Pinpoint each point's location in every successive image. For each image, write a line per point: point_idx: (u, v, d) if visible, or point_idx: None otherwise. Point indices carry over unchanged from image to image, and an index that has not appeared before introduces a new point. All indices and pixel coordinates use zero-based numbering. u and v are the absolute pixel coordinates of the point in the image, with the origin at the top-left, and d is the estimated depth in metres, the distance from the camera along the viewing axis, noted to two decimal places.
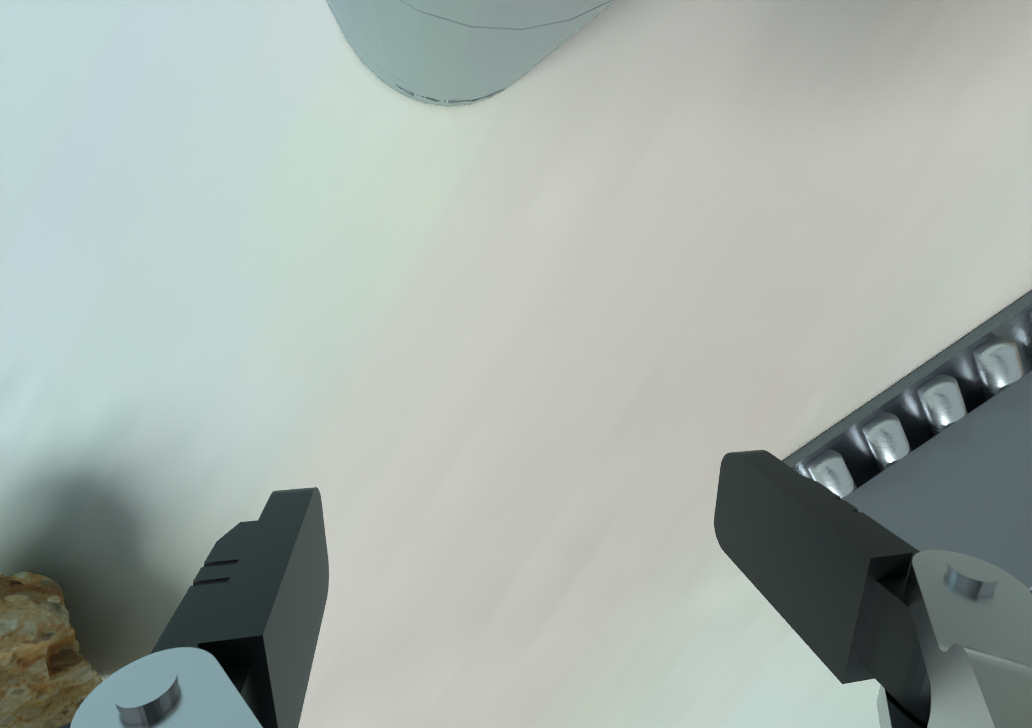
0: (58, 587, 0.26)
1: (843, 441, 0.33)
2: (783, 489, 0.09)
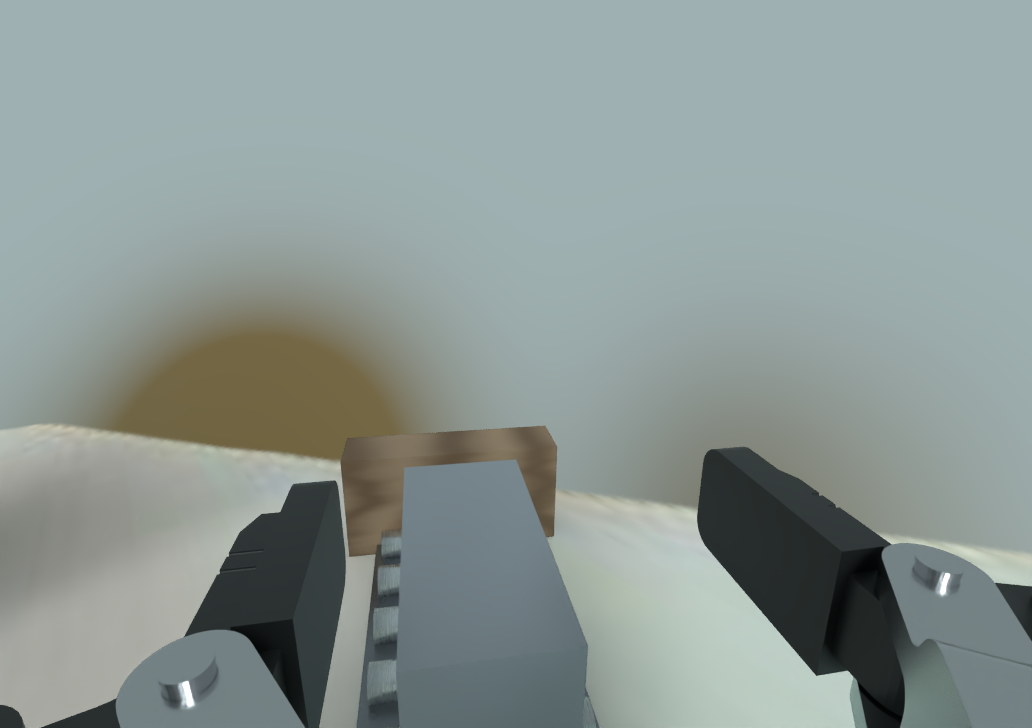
0: None
1: None
2: (761, 485, 0.09)
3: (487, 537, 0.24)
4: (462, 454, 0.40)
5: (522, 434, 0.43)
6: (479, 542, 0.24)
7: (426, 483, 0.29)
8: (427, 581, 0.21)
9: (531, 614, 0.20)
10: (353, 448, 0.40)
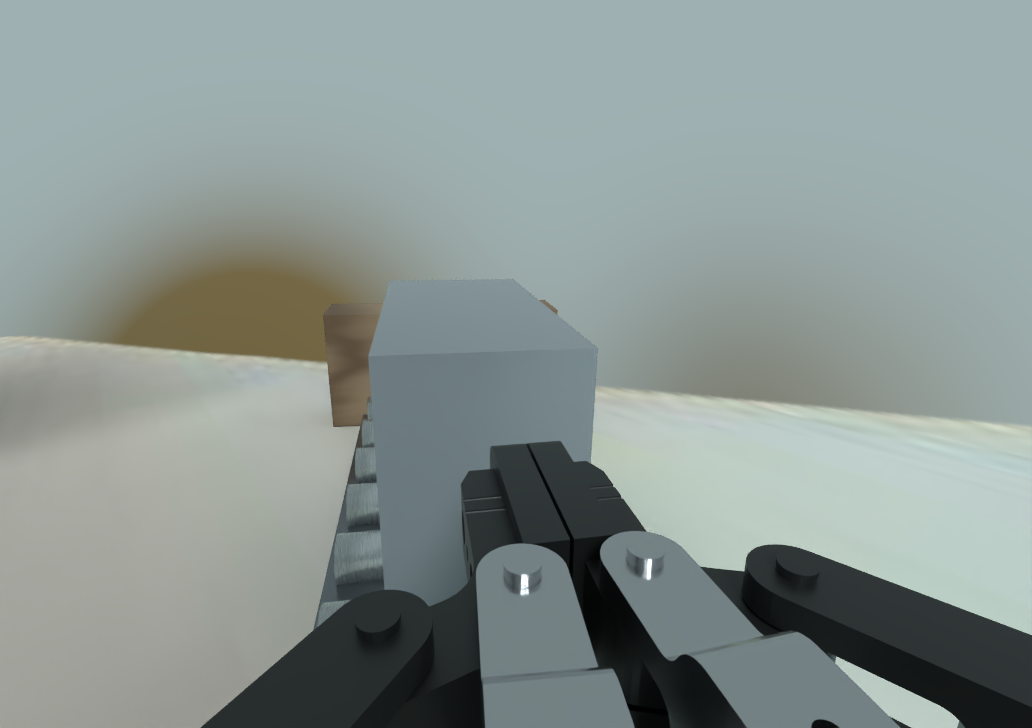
0: None
1: None
2: (546, 477, 0.10)
3: (479, 306, 0.21)
4: None
5: None
6: (470, 307, 0.21)
7: (412, 286, 0.26)
8: (410, 321, 0.19)
9: (531, 335, 0.17)
10: (338, 308, 0.37)
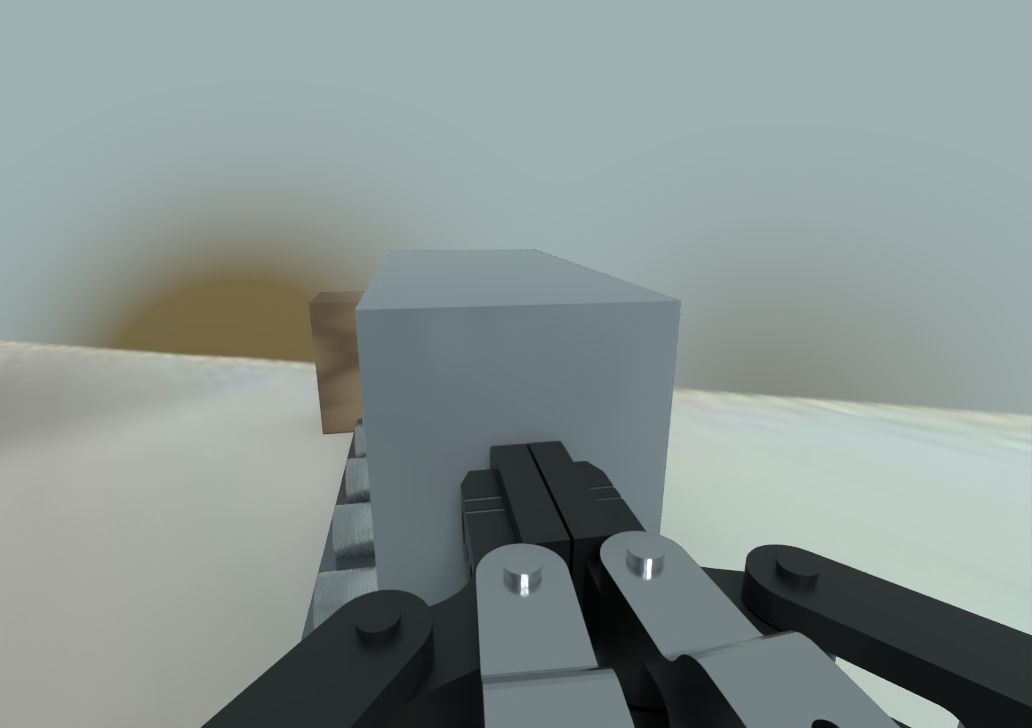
0: None
1: None
2: (546, 476, 0.10)
3: (502, 267, 0.17)
4: None
5: None
6: (491, 268, 0.16)
7: (417, 254, 0.21)
8: (415, 279, 0.14)
9: (580, 290, 0.12)
10: (327, 297, 0.32)
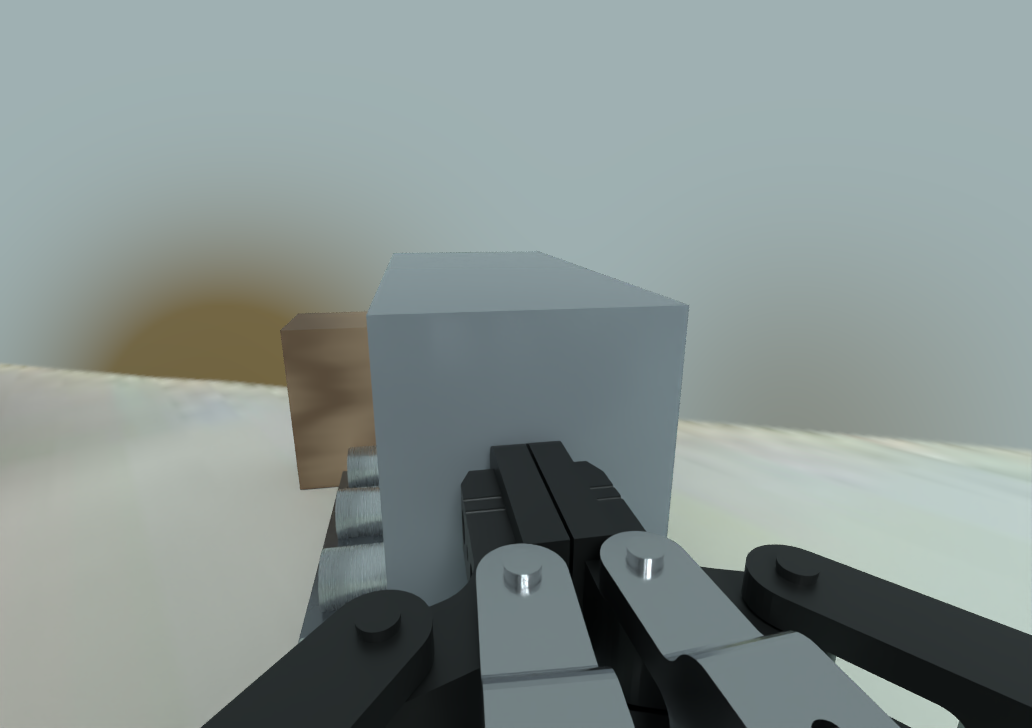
0: None
1: None
2: (546, 477, 0.10)
3: (508, 270, 0.17)
4: None
5: None
6: (497, 272, 0.17)
7: (421, 256, 0.21)
8: (423, 283, 0.14)
9: (588, 293, 0.12)
10: (304, 320, 0.26)
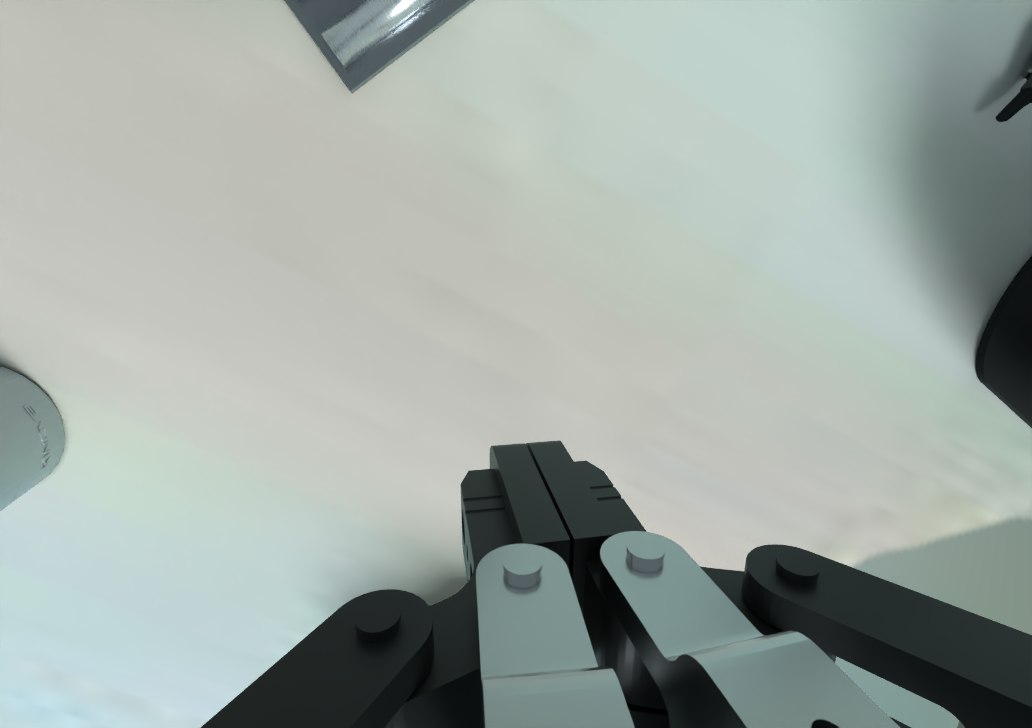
0: None
1: (314, 21, 0.30)
2: (546, 477, 0.10)
3: None
4: None
5: None
6: None
7: None
8: None
9: None
10: None
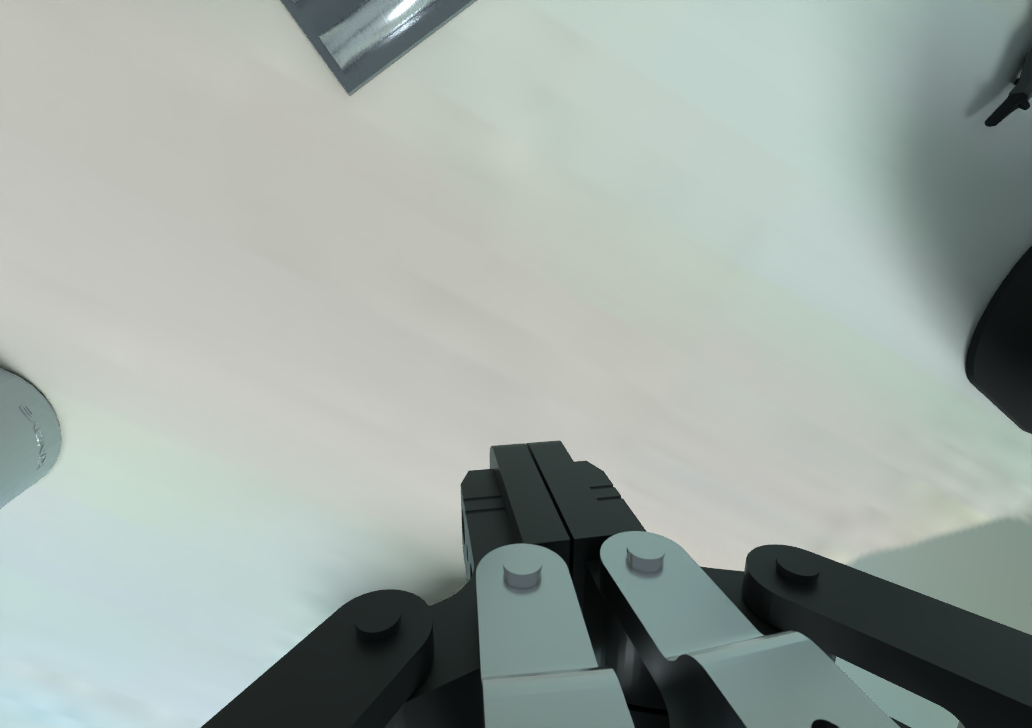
0: None
1: (312, 24, 0.30)
2: (546, 477, 0.10)
3: None
4: None
5: None
6: None
7: None
8: None
9: None
10: None
